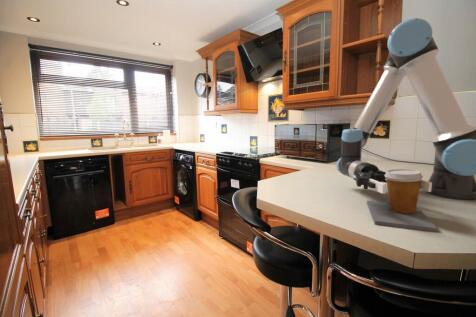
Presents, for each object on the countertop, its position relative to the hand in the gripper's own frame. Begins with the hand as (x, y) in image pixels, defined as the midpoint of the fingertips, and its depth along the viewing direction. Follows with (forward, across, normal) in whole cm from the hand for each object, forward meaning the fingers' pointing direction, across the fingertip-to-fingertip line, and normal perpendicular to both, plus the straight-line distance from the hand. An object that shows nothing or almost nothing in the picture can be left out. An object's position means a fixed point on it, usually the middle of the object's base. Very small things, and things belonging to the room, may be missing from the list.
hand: (407, 188), depth 67 cm
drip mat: (-3, 0, -10) cm, 10 cm away
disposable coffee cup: (-4, -3, -8) cm, 10 cm away
